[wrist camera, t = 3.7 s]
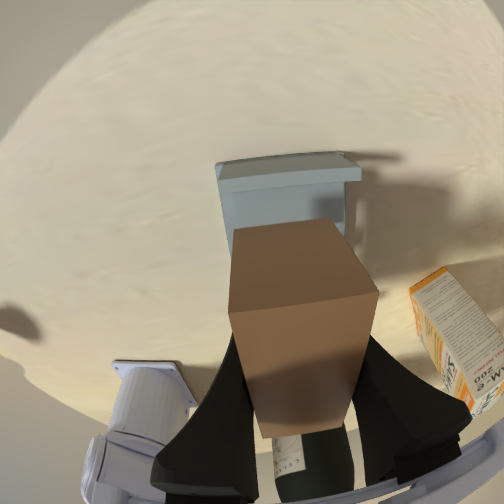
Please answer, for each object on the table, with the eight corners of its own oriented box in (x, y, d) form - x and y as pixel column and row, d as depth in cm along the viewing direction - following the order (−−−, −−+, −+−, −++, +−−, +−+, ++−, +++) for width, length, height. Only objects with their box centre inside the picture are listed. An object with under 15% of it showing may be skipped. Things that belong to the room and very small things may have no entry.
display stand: (336, 302, 22) (352, 343, 18) (243, 314, 23) (243, 358, 19) (339, 151, 16) (370, 166, 12) (216, 163, 17) (206, 182, 12)
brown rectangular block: (323, 356, 15) (341, 426, 11) (258, 364, 16) (262, 438, 11) (329, 217, 11) (379, 291, 7) (233, 229, 11) (227, 313, 7)
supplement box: (405, 288, 22) (474, 402, 11) (444, 263, 21) (523, 362, 10) (415, 335, 26) (462, 428, 14) (448, 314, 25) (501, 399, 13)
